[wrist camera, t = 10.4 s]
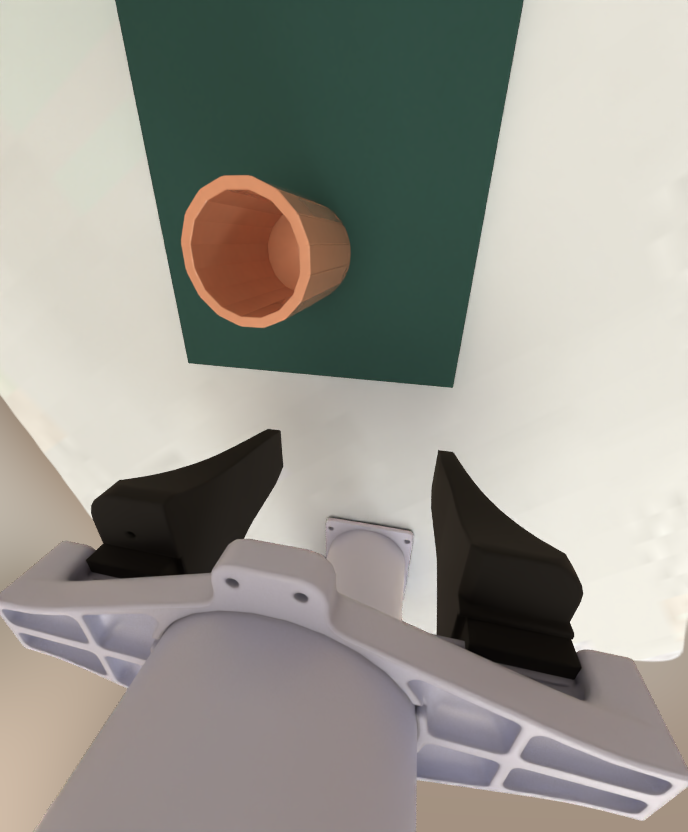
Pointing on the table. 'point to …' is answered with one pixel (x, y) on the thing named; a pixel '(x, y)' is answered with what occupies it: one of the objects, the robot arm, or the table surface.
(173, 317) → the table surface
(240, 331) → the mat
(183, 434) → the table surface
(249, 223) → the brown cup
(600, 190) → the table surface
